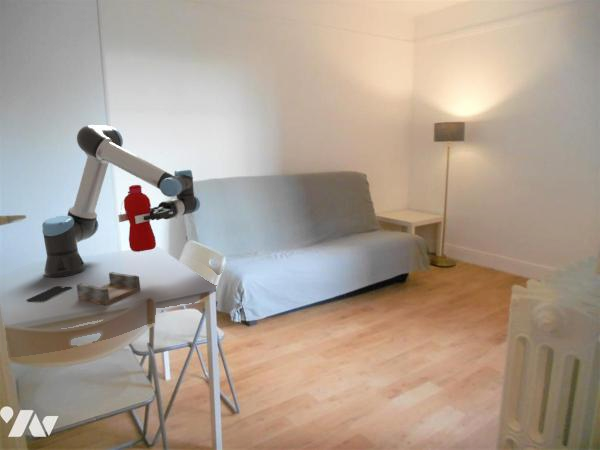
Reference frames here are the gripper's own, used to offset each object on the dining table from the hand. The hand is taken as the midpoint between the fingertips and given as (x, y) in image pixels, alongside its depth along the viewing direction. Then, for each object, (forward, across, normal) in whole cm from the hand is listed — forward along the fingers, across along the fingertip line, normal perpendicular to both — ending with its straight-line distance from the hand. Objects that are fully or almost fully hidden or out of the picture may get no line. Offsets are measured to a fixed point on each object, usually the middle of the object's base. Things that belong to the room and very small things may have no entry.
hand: (127, 219), depth 152 cm
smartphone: (+19, +22, -26) cm, 40 cm away
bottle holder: (+11, 0, -26) cm, 28 cm away
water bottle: (-5, 0, -13) cm, 14 cm away
